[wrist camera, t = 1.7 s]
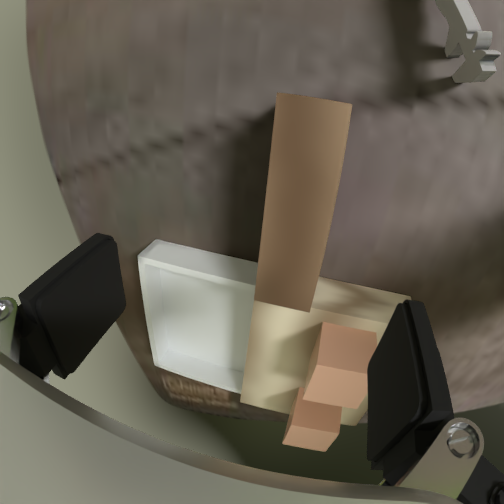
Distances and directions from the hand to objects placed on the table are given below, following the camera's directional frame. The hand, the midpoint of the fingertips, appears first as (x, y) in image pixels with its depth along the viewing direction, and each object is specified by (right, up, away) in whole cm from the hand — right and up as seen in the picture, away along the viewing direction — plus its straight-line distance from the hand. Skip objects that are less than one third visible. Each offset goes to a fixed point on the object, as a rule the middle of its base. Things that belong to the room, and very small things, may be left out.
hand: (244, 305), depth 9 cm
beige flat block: (+7, -7, +17) cm, 20 cm away
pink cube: (+7, -5, +12) cm, 15 cm away
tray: (-4, -4, +19) cm, 20 cm away
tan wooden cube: (+6, -12, +16) cm, 21 cm away
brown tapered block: (+4, +6, +11) cm, 13 cm away
